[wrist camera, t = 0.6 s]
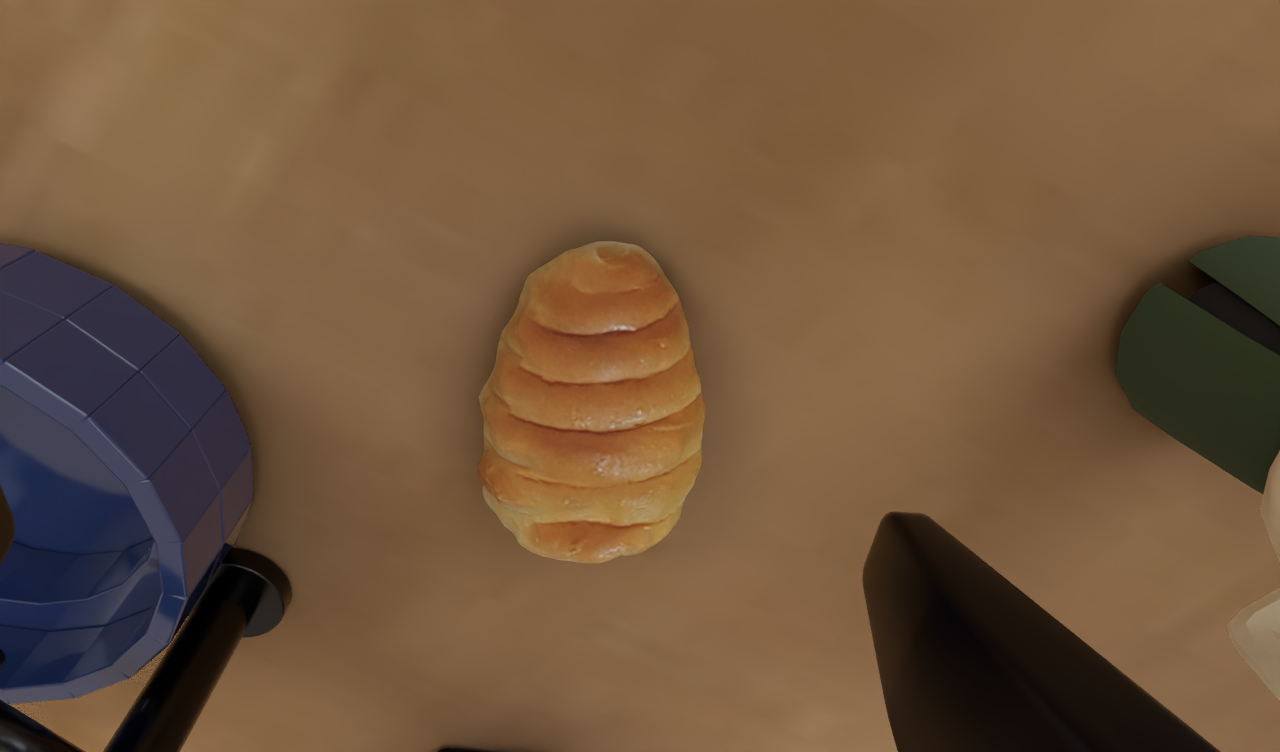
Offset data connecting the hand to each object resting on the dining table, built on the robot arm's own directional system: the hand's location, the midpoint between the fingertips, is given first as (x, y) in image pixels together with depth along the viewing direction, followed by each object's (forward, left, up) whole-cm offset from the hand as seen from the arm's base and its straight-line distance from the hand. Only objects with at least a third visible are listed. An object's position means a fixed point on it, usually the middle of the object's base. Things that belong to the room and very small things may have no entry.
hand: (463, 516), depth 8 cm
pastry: (-7, -2, -15) cm, 16 cm away
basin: (-11, +15, -15) cm, 23 cm away
